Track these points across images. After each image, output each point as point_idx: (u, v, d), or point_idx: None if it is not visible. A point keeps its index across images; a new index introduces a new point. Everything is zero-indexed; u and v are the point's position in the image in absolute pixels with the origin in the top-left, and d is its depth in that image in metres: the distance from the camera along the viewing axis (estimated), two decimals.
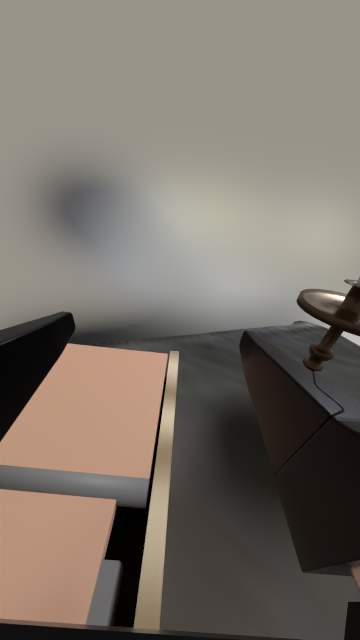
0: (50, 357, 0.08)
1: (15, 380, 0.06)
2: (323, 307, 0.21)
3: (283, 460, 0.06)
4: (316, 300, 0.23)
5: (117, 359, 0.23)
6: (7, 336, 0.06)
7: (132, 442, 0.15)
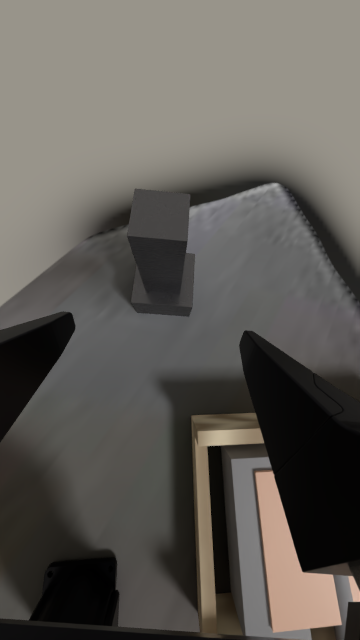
0: (50, 357, 0.08)
1: (15, 380, 0.06)
2: None
3: (282, 460, 0.06)
4: None
5: None
6: (7, 336, 0.06)
7: None
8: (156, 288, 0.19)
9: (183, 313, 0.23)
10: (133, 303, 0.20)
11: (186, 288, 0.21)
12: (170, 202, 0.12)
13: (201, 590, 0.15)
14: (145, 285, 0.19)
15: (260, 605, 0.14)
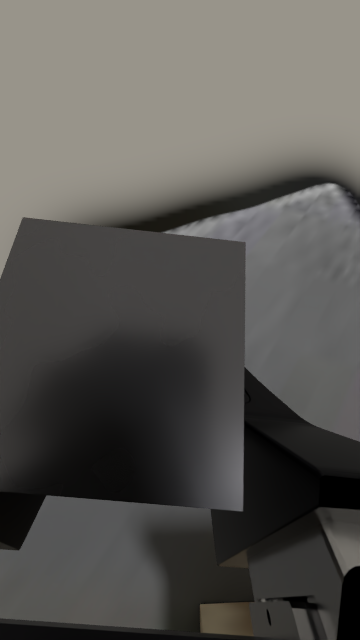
0: None
1: None
2: None
3: None
4: None
5: None
6: None
7: None
8: None
9: None
10: None
11: None
12: (164, 280, 0.03)
13: None
14: None
15: None
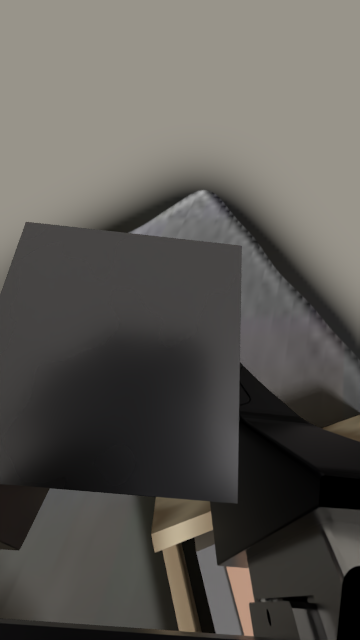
0: None
1: None
2: None
3: None
4: None
5: None
6: None
7: None
8: None
9: None
10: None
11: None
12: (163, 282, 0.03)
13: None
14: None
15: None
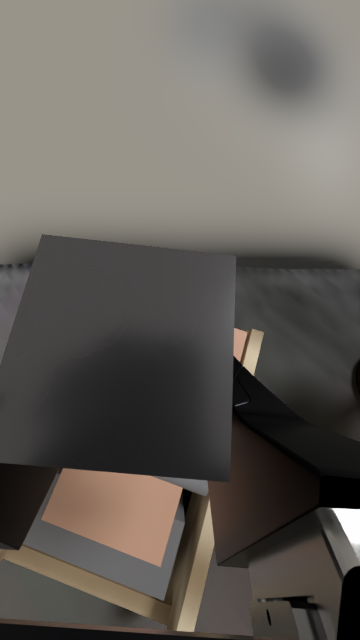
0: None
1: None
2: None
3: None
4: None
5: None
6: None
7: None
8: None
9: None
10: None
11: None
12: (165, 289, 0.03)
13: (132, 608, 0.14)
14: None
15: (142, 567, 0.14)
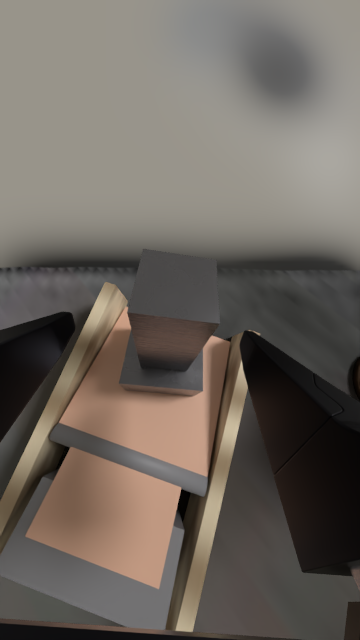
0: (50, 357, 0.08)
1: (15, 380, 0.06)
2: None
3: (283, 460, 0.06)
4: None
5: None
6: (7, 336, 0.06)
7: (194, 440, 0.16)
8: (156, 365, 0.14)
9: (188, 394, 0.17)
10: (122, 384, 0.15)
11: (194, 363, 0.16)
12: (191, 268, 0.09)
13: None
14: (141, 362, 0.14)
15: (137, 594, 0.12)
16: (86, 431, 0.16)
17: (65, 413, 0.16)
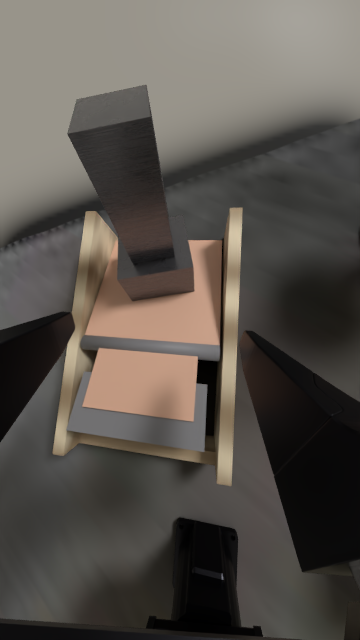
0: (50, 357, 0.08)
1: (15, 380, 0.06)
2: None
3: (283, 460, 0.06)
4: None
5: None
6: (7, 336, 0.06)
7: (202, 322, 0.18)
8: (143, 253, 0.15)
9: (187, 286, 0.18)
10: (121, 281, 0.16)
11: (181, 249, 0.17)
12: (122, 96, 0.09)
13: (184, 458, 0.18)
14: (129, 251, 0.15)
15: (177, 428, 0.15)
16: (108, 335, 0.18)
17: (88, 327, 0.19)
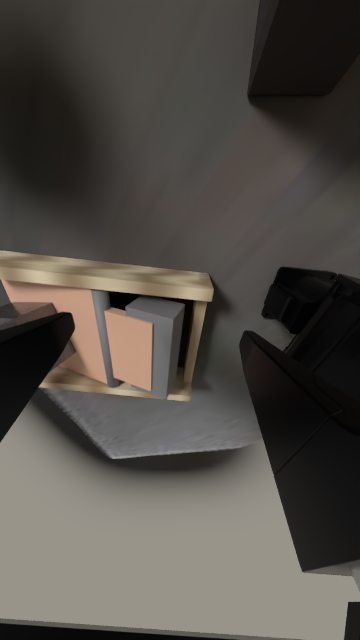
0: (50, 357, 0.08)
1: (15, 380, 0.06)
2: None
3: (282, 460, 0.06)
4: None
5: None
6: (7, 336, 0.06)
7: (76, 301, 0.19)
8: None
9: (45, 312, 0.19)
10: None
11: (3, 324, 0.18)
12: None
13: (203, 316, 0.20)
14: None
15: (159, 335, 0.17)
16: (104, 371, 0.23)
17: (102, 381, 0.25)
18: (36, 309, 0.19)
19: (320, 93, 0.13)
